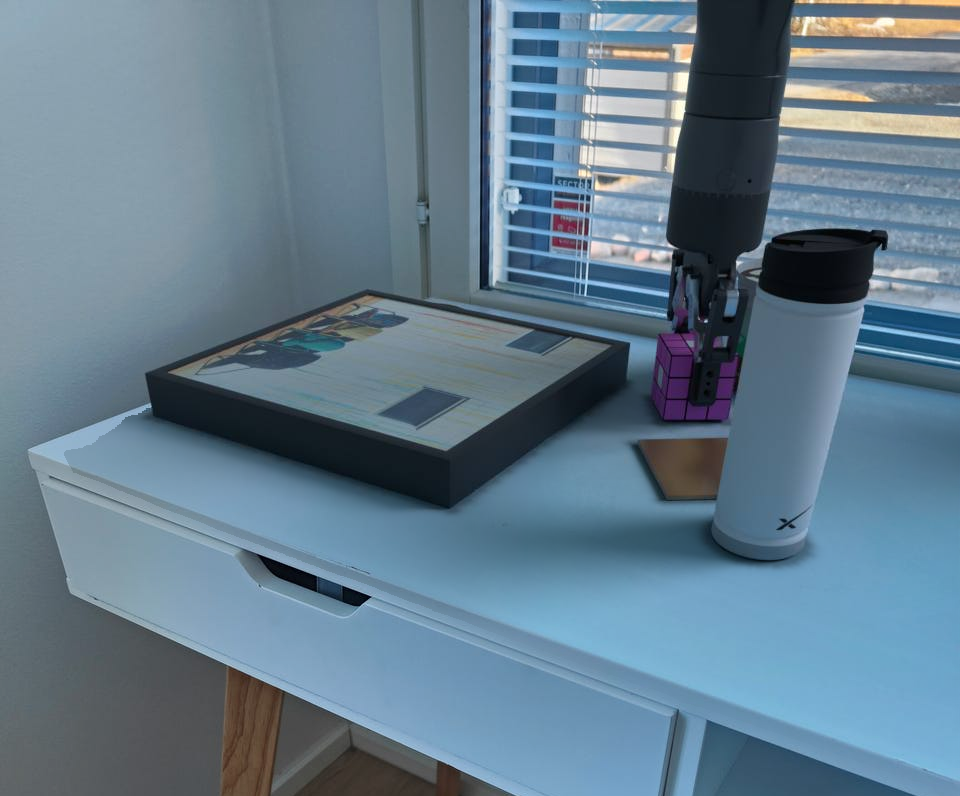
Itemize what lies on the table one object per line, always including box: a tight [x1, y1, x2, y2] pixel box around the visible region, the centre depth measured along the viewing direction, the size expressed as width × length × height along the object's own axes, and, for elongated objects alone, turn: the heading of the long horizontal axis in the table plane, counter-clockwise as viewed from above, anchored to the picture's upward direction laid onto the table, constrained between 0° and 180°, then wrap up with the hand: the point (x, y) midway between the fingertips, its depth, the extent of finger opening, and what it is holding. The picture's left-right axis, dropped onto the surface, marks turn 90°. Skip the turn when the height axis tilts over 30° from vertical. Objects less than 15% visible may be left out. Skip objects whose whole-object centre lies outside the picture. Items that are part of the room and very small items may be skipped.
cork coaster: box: [636, 437, 728, 501], centre depth 73 cm, size 10×10×1 cm
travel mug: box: [710, 227, 889, 561], centre depth 58 cm, size 6×7×20 cm
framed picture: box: [144, 288, 631, 509], centre depth 83 cm, size 30×4×30 cm
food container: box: [733, 257, 763, 391], centre depth 85 cm, size 12×6×10 cm, turn 6°
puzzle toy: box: [650, 333, 739, 421], centre depth 81 cm, size 6×6×6 cm
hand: (690, 390), depth 82 cm, fingers closed on puzzle toy, 6 cm apart
